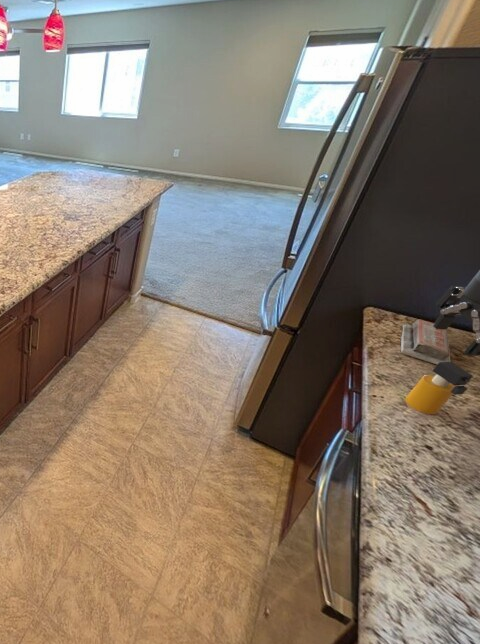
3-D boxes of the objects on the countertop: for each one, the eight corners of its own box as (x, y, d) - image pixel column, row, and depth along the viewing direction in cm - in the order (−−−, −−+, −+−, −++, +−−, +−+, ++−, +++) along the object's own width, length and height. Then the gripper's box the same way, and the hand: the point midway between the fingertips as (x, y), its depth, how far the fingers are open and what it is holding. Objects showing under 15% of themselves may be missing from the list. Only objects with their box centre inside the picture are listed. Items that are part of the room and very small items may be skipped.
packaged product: (409, 314, 123) (455, 327, 117) (401, 326, 125) (446, 340, 119) (408, 341, 112) (459, 357, 106) (399, 353, 114) (448, 370, 108)
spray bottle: (398, 397, 101) (429, 359, 94) (419, 396, 101) (451, 358, 94) (424, 417, 95) (459, 378, 88) (446, 416, 95) (482, 377, 88)
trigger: (450, 391, 91) (455, 385, 90) (458, 391, 91) (463, 385, 90) (454, 394, 91) (459, 388, 90) (462, 394, 91) (467, 388, 90)
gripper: (566, 304, 71) (504, 366, 80) (496, 264, 82) (449, 321, 91) (514, 301, 72) (459, 362, 81) (452, 262, 84) (410, 319, 93)
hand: (454, 340), depth 86 cm, fingers open, 8 cm apart
